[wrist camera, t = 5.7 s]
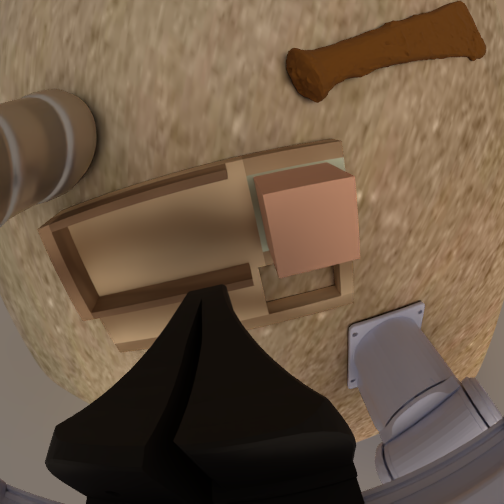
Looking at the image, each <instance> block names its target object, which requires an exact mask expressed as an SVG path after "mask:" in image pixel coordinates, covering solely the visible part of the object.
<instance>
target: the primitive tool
mask: <svg viewBox="0 0 504 504" xmlns="http://www.w3.org/2000/svg"><path fill="white" fill-rule="evenodd" d="M485 53H486V45H485V43H484V41H483V39H482V38H481V35H480V33H479V32H478V30H477V27H476V25H475V23H474V21H473V18H472V16H471V15H470V13H469V11H468V9H467V7H466V5H465V4H464V3H463V2H461V1H457V2H453V3H449V4H447V5H444V6H442V7H440V8H438V9H435V10H433V11H431V12H428V13H422V14H419V15H413V16H412V17H410V18H407V19H404V20H401V21H392V22H388V23H385V24H384V25H383V26H382V27H380V28H379V29H375V30H371V31H368V32H365V33H363V34H360V35H359V36H356V37H353V38H349V39H346V40H342V41H340V42H338V43H336V44H333V45H330V46H326V47H322V48H318V49H315V50H301V49H297V48H292V49H291V50H290V51H288V55H287V60H286V64H287V67H286V69H287V71H288V74H289V75H290V77H291V79H292V83H293V85H294V86H295V87H296V89H297V91H298V92H299V93H300V94H301V95H302V96H304V97H307V98H309V99H311V100H312V101H314V102H317V103H318V102H320V101H322V100H323V99H324V98H325V97H326V96H327V95H328V92H329V91H330V90H331V89H332V88H333V87H334V86H335V85H336V84H338V83H340V82H343V81H344V80H345V79H348V78H353V77H362V76H364V75H367V74H369V73H371V72H372V71H374V70H375V69H379V68H382V67H389V66H391V65H394V64H401V63H407V62H411V61H417V60H428V59H436V58H439V59H444V58H446V57H461V56H462V57H468V58H469V59H470V60H472V61H474V60H476V59H477V58H478V59H480V58H482V57H483V55H485Z"/></svg>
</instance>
